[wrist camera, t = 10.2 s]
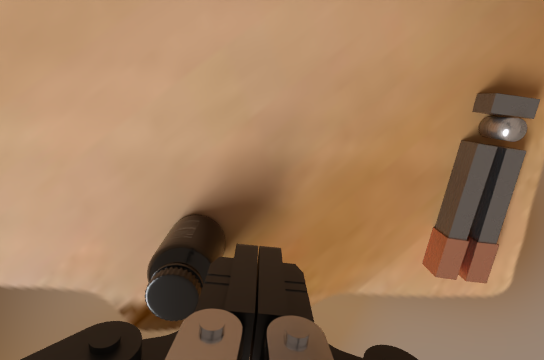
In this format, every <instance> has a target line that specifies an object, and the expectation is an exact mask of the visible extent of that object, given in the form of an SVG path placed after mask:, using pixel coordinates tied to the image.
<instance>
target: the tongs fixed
mask: <svg viewBox="0 0 544 360" xmlns="http://www.w3.org/2000/svg"><path fill="white" fill-rule="evenodd" d="M539 102H540V99H533V98H526V97H519V96H512V95H505V94H498V93H487V94H477V97H476V101H475V104H474V108H473V111H472V112H477V113H484V114H491V115H499V116H506V117H493V116H489V117H486V118H484V119H483V120H482V121H481V122H480V124H479V133H480V134H481V135H482V136H483V137H487V138H493V139H500V140H506V141H512V142H515V141H518V140H520V139H522V138H523V137H524V135H525V134H526V131H527V124H526V122H525V121H524V120H523V119H520V118H529V119H534V117H535V114H536V111H537V108H538V105H539ZM508 117H514V118H508ZM490 146H495V145H490ZM495 147H497V150H496V153H495V156H494V159H493V162H492V165H491V168H490V171H489V174H488V177H487V180H486V183H485V186H484V189H483V192H482V195H481V198H480V201H479V204H478V207H477V210H476V213H475V216H474V219H473V222H472V225H471V228H470V231H469V234H468V237H467V240H468V241H469V243H468V246H467V249H466V252H465V255H464V258H463V261H462V264H461V267H460V270H459V273H458V275H459V276H461V277H462V278H463V279H464V280H465V281H470V282H479V283H487V280H488V277H489V274H490V271H491V268H492V265H493V262H494V259H495V256H496V253H497V250H498V247H499V245H498V244H497V240H498V237H499V234H500V231H501V228H502V225H503V222H504V218H505V215H506V212H507V209H508V206H509V203H510V200H511V197H512V194H513V191H514V188H515V184H516V181H517V178H518V175H519V172H520V169H521V166H522V163H523V160H524V157H525V154H526V151H524V150H519V149H514V148H509V147H502V146H495Z"/></svg>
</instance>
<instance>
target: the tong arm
mask: <svg viewBox="0 0 544 360" xmlns="http://www.w3.org/2000/svg"><path fill="white" fill-rule="evenodd" d="M496 150H497V147H495V146H490V145H485V144H480V143H474V142H468V141H463V140H461V143H460V147H459V150H458V153H457V157H456V160H455V163H454V166H453V170H452V173H451V176H450V180H449V183H448V186H447V189H446V193H445V196H444V199H443V202H442V206H441V209H440V212H439V216H438V219H437V222H436V225H435V228H433V230H432V233H431V237H430V240H429V243H428V246H427V250H426V253H425V256H424V260H423V263H422V264H423V265H424V266H425V267H426V268H427V269H428V270H429V271H430V272H431V273H432V274H433V275H434V276H435V277H439V278H446V279H454V280H456V279H457V276H458V273H459V270H460V267H461V264H462V261H463V258H464V255H465V252H466V249H467V246H468V243H469V241H468V240H467V237H468V234H469V231H470V228H471V225H472V222H473V219H474V216H475V213H476V210H477V207H478V204H479V201H480V198H481V195H482V192H483V189H484V186H485V183H486V180H487V177H488V174H489V171H490V168H491V165H492V162H493V159H494V156H495V153H496Z"/></svg>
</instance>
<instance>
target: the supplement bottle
mask: <svg viewBox="0 0 544 360" xmlns="http://www.w3.org/2000/svg"><path fill="white" fill-rule="evenodd" d="M224 247H225V236H224V233H223V231H222V229H221V227H220V226H219V225H218V224H217V223H216V222H215V221H214V220H212V219H211V218H209V217H206V216H202V215H190V216H187V217H184V218H182V219H180V220H179V221H178V222H177V223H176V224H175V225H174V226H173V227H172V229H171V230H170V232H169V233H168V234H167V236H166V237H165V239H164V240H163V242H162V243H161V245H160V246H159V248H158V249H157V251H156V252H155V254H154V255H153V257H152V259H151V260H150V263H149V265H148V270H147V278H148V282H149V284H148V285H147V289H146V291H145V293H146V294H145V298H146V299H145V301H146V303H147V306H148V307H149V310H151V311H152V313H153V314H155V315H156V316H157V317H160V318H161V319H165V320H170V321H178V320H183V319H186V318H187V317H188V316H190V315H191V314H193V313H194V312H195V309H196V306H197V303H198V300H199V297H200V294H201V291H202V288H203V285H204V283H205V279H206V276H207V273H208V270H209V267H210V264H211V263H212V262H214V261H215V260H216V259H217V258H218V257H222V256H223V252H224Z"/></svg>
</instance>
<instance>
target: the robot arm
mask: <svg viewBox="0 0 544 360" xmlns="http://www.w3.org/2000/svg"><path fill="white" fill-rule="evenodd" d="M257 257H258V263H257ZM249 357H250V360H418V359H417V358H415V357H414V356H412V355H411V354H409V353H408V352H406V351H403V350H402V349H399V348H397V347H393V346H389V345H375V346H372V347H370V348H369V349H367V350H366V352H365V353H364V357H363V358H361V357H357V356H355V355H352V354H349V353H346V352H343V351H341V350H338V349H336V348H334V347H333V346H331V345H330V344H328V342H327V339H326V336H325V334H324V332H323V331H322V330H321V328H320V327H319V326H318V325H316V324H315V323H314V320H313V316H312V311H311V306H310V301H309V297H308V293H307V288H306V285H305V279H304V274H303V272H302V271H301V270H300V269H299V268H298V267H297V266H296V264H289V263H283V262H282V253H281V248H275V247H265V246H260V247H259V254H258V246H254V245H244V244H237V246H236V251H235V256H234V258H227V257H218V258H217V259H216V260H215V261H214V262H212V263H211V264H210V267H209V270H208V273H207V276H206V279H205V283H204V285H203V288H202V291H201V294H200V297H199V300H198V303H197V306H196V309H195V312H194V313H193V314H191V315H190V316H188V317H187V318H186V319H185V320H184V322H183V323H182V325H181V327H180V329H179V331H177V332H175V333H172V334H170V335H166V336H161V337H156V338H149V339H143V340H142V335H141V332H140V330H139V329H138V328H137V327H136V326H134V325H132V324H130V323H127V322H122V321H110V322H104V323H99V324H96V325H93V326H91V327H89V328H86V329H85V330H82V331H80V332H78V333H76V334H74V335H72V336H70V337H67V338H65V339H63V340H61V341H59V342H57V343H55V344H52V345H50V346H48V347H46V348H44V349H42V350H40V351H38V352H36V353H33V354H31V355H29V356H27V357H25V358H23V359H21V360H249Z"/></svg>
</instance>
